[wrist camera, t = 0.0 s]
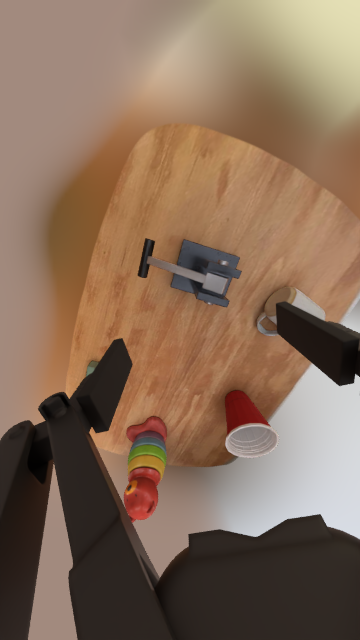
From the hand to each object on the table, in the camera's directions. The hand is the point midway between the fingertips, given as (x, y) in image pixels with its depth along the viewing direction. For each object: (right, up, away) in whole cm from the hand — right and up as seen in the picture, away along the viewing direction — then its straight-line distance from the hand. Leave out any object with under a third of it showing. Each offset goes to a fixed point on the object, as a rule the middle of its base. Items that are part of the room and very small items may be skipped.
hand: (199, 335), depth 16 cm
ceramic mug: (+19, +3, +25) cm, 32 cm away
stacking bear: (-10, -30, +37) cm, 49 cm away
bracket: (+3, +11, +21) cm, 24 cm away
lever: (-1, +9, +12) cm, 15 cm away
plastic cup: (+13, -19, +33) cm, 41 cm away
